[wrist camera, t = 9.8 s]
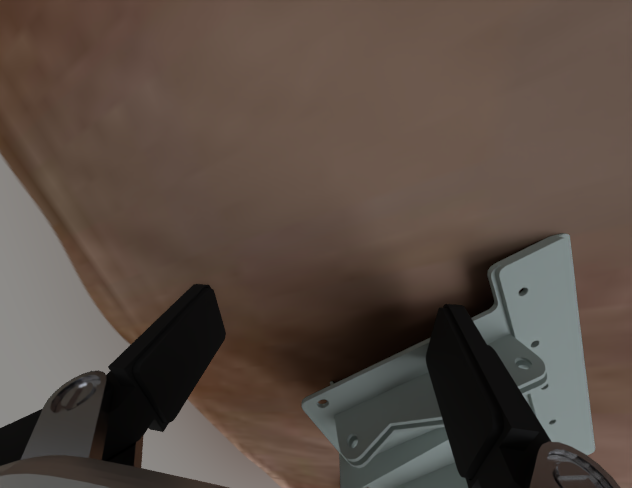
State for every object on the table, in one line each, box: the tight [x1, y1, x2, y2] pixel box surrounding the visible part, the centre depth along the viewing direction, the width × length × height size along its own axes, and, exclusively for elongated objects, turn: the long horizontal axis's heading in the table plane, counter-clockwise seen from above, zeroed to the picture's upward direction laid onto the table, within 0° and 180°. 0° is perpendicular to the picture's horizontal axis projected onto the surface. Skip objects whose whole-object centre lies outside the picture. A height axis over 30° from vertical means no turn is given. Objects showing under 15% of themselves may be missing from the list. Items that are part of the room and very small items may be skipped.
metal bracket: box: [302, 233, 595, 488], centre depth 12 cm, size 14×6×15 cm
